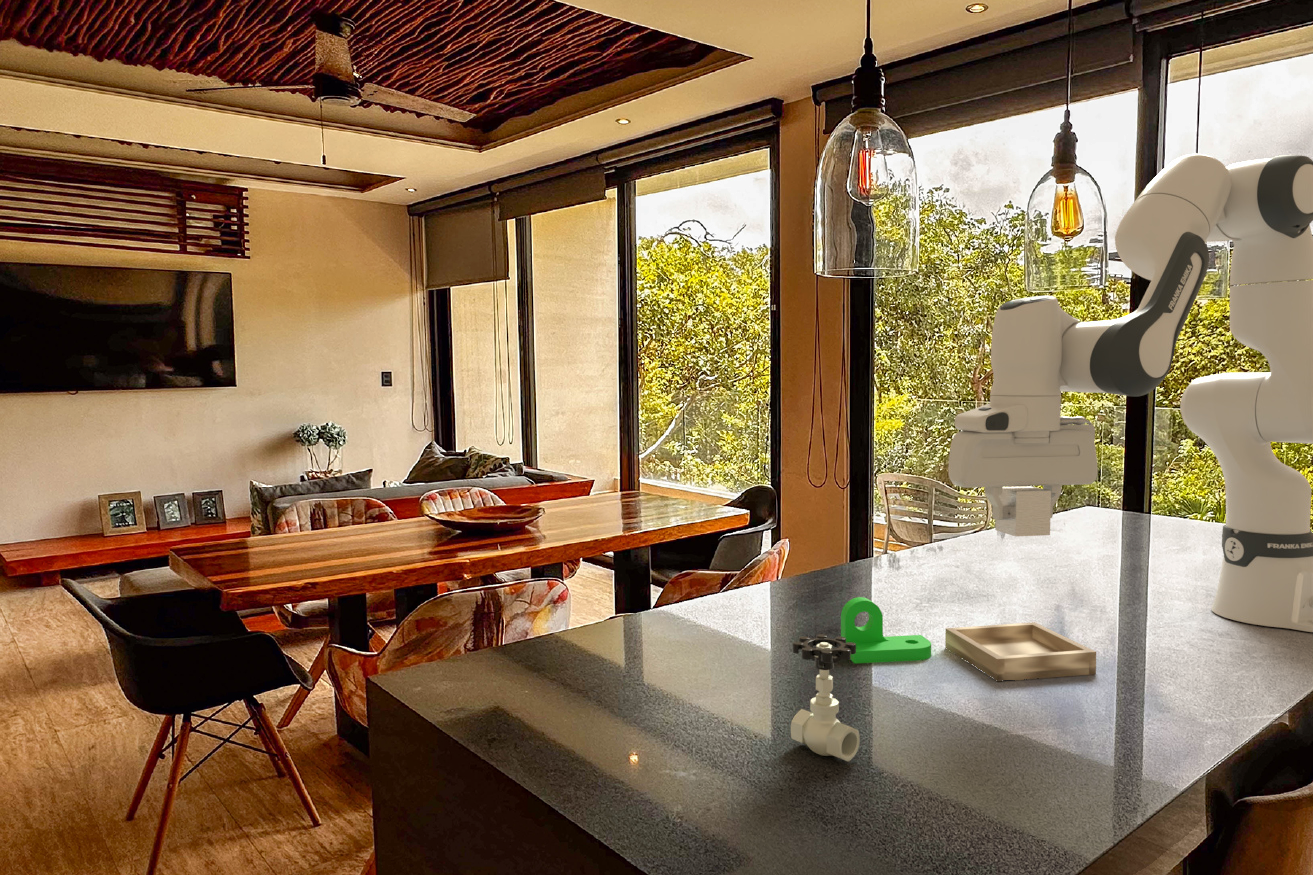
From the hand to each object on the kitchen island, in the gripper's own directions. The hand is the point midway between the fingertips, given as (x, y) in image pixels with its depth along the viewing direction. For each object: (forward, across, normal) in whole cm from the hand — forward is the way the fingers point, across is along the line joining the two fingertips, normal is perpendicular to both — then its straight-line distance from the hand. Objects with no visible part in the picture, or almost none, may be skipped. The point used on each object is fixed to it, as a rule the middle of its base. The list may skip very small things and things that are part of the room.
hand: (1022, 518), depth 121 cm
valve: (+21, +36, +22) cm, 47 cm away
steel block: (+2, 0, 0) cm, 2 cm away
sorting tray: (+20, 0, 0) cm, 20 cm away
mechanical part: (+20, +16, -7) cm, 27 cm away
